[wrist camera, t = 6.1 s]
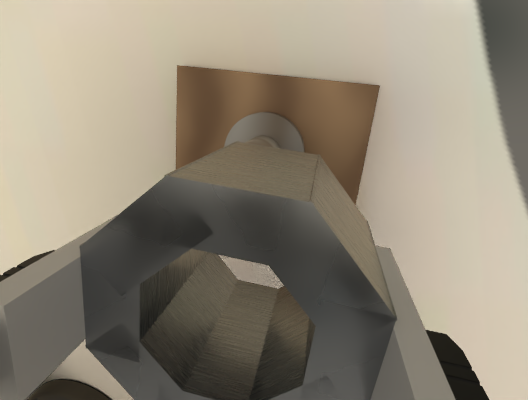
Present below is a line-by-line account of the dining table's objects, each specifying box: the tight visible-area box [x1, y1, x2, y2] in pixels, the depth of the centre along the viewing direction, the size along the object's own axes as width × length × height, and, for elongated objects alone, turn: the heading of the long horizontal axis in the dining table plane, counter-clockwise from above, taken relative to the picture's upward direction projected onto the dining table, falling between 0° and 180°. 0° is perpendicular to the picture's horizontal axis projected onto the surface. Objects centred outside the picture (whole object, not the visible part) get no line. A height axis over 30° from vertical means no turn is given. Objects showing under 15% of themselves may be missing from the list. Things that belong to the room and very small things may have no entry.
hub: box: [79, 141, 397, 400], centre depth 11 cm, size 8×8×6 cm
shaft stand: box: [176, 65, 380, 205], centre depth 24 cm, size 16×12×9 cm
